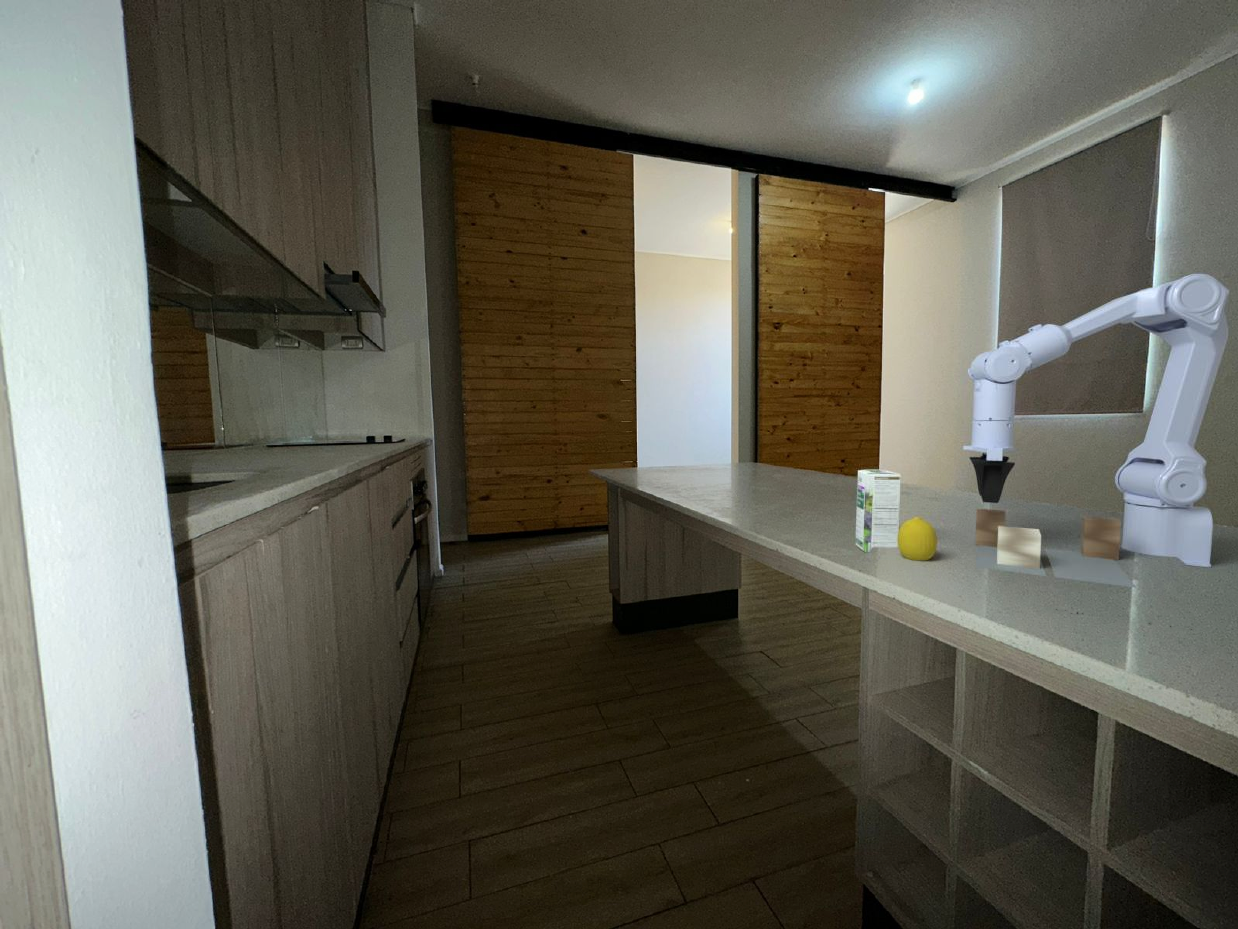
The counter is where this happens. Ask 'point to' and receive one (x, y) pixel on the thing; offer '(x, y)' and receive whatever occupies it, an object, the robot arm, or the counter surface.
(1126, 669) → the counter surface
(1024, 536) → the block
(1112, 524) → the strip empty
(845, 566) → the counter surface
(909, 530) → the lemon
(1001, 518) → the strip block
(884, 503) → the syrup box
